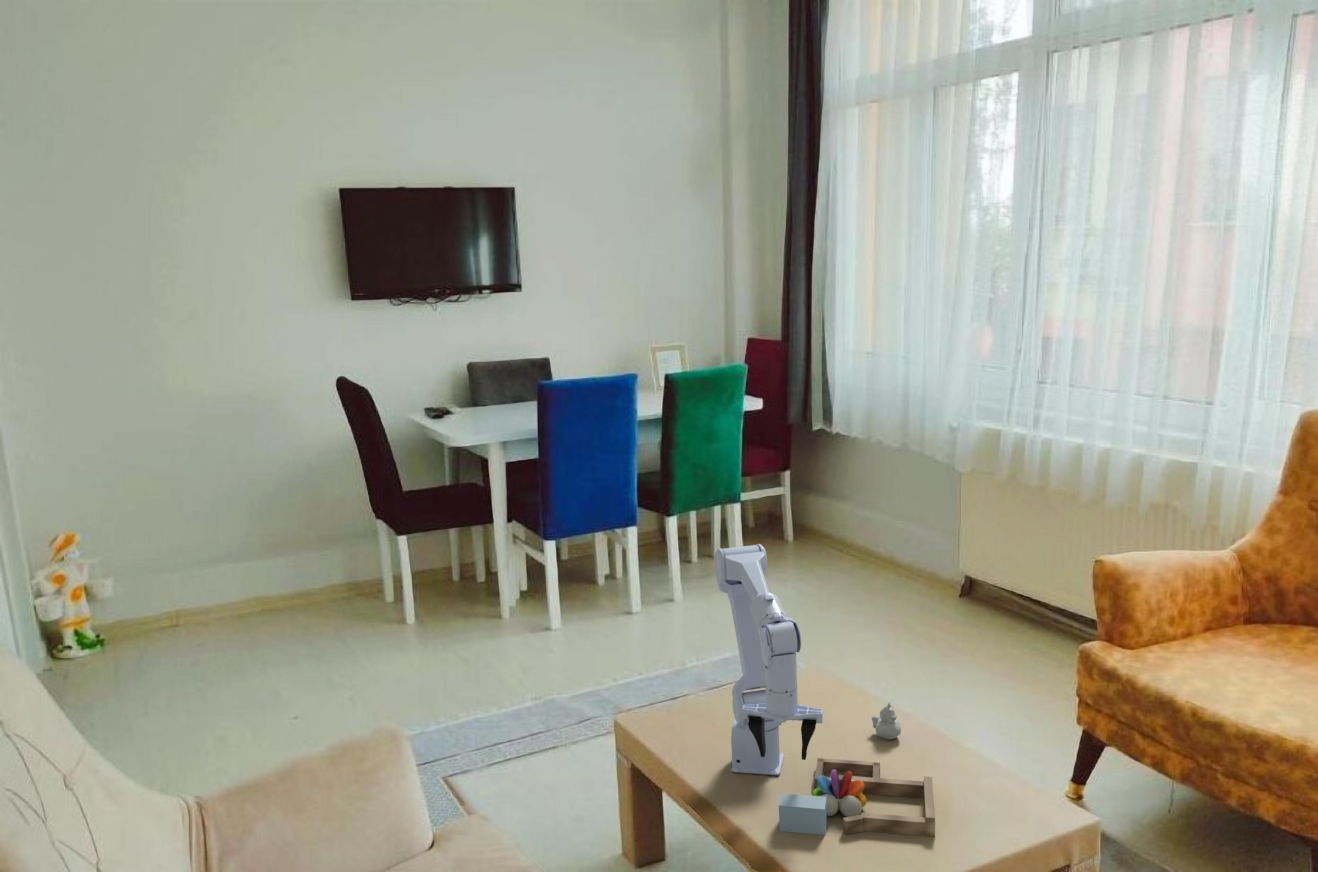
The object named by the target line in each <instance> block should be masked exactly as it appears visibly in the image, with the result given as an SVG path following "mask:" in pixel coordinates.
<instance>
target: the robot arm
mask: <svg viewBox="0 0 1318 872" xmlns="http://www.w3.org/2000/svg"><path fill="white" fill-rule="evenodd" d="M713 557H714V559H713V560H714V561H713V562H714V563H713V564H714V570H715V576H716V583H717V586H718V589H719V591H720V592H722V593H725V594H727V597H728V600H729V603H730V607H731V612H732V613H731V614H732V620H733V624H734V625H733V626H734V631H735V637H736V642H737V648H738V654H739V659H740V660H739V661H740V665H741V669H742V676H741V677H739V679H738V680H737V681H736V682H735V683H734V684H733V687H732V689H731V694H732V695H731V696H732V711H733V716H734V720H733V722H732V725H731V730H730V731H731V736H730V737H731V738H730V743H731V744H730V745H731V746H730V747H731V767H732V768H731V771H732V772H733V773H739V774H740V773H742V774H753V775H755V774H756V775H766V776H769V775H770V776H780V775H781V771H782V767H783V761H784V756H785V754H784V753H783V752H780V748H781V747H780V727H779V726H782V724H784V723H786V722H787V721H799V722H800V721H801V722H802V723H801V727H800V731H801V732H800V733H801V760H802V761H803V760H804V761H806V759H807V754H808V752H807V751H808V748H809V744H810V741H811V739H812V737H813V735H814V733H815V730H816V727H817V724H823V721H824V709H823V708H819V707H818V708H817V707H811V706H806V705H803V704H799V702H798V701H799V699H798V698H799V697H798V696H799V695H798V670H797V653H800V651H801V649H802V635H801V632H800V627H799V625H798V623H797V622H796V620H794V619H792V617H790V616H787V613H786V612H785V609H784V607H783V605H782V603H781V601H780V599H779V597H778V596H777V595H776V594H774V593H770V590H769V587H768V583H767V580H766V573H767V570H768V555H767V551H766V549H765V547H764V546H763V545H762V544H760V543H757V544H753V545H752V544H751V545H745V546H735V547H726V548H721V547H719V548H717V549H716V551H715V552H714V556H713ZM758 689H760V690H758ZM745 691H746V692H745Z"/></svg>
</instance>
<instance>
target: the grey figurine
mask: <svg viewBox="0 0 1318 872" xmlns="http://www.w3.org/2000/svg"><path fill="white" fill-rule="evenodd" d="M897 718H898V714H897V712H896V710H895V709H894V707H892V705H891V703H890V702H888V703H887V705H886V706H884V707H882V708H881V710H880V711H879V715H877V714H874V715H872V716H871V721H872V728H873V729H875V733H876V735H877V736H878V737H880V738H882V739H885V740H894V739H897V737H899V735H900V734H901V733H902V729H901V728H902V727H901V725H900V722H899V720H898V719H897Z"/></svg>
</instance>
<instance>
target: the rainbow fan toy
mask: <svg viewBox="0 0 1318 872" xmlns="http://www.w3.org/2000/svg"><path fill="white" fill-rule="evenodd" d="M838 775H839V772H837V770H835V769H833V770H831V772H830V777H831V779H830V778H829V777H827V776H825V775H824V774H823V775H821V776H819V777H818V778H817V783H818V786H817V788H815V789H814V790H813V791H812V794H811V796H821V797H826V800H827V817H832V816H834V815H836V814H837V812H838V811H839V810H840V812H841V813H842V815H843V816H845V817H851V816H857V815H861V812H862V809H863V808H864V807H865V806H866V804H867V797H866V795H864V793H862V791H863V790H864V788H865V784H864V783H863V782H862V781H860V780H851V779H852V776H853V773H852V772H851V771H847V772H846V773H844V774H843V775H844V776H843V778H842V780H841V782H839V777H838ZM839 799H840V800H839Z"/></svg>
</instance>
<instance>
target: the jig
mask: <svg viewBox="0 0 1318 872" xmlns="http://www.w3.org/2000/svg"><path fill="white" fill-rule="evenodd" d="M815 767H816V769H815V774H814V788H815V789H816V788H817V786H818V783H817V778H818V777H819V776H821V775H823V776H824V772H829V773H831V770H833V769H835V770H837V773H844V774H845V773H846V772H847V771H851V772H852V774H858V775H859V774H860V775H872V777H867V776H857V775H856V776H855V775H854V776H853V775H852V779H851V780H860V781H862V782H863V783H864V784H865V788H864V790H863V791H862V794H863V795H864V794H866V795H868V794H869V795H878V796H879V795H880V796H889V797H890V796H893V797H906V798H919V799H923V803H924V804H923V805H924V817H921V816H910V815H896V814H884V813H872V812H862V811H861V812H860V814H859V815H857V816H851V817H846V816H845V817H843V818H842V825H843V826H842V828H843V829H842V831H843V832H844V834H845V835H852V834H857V833H864V832H865V831H866V832H877V833H888V834H899V835H901V834H902V835H912V836H923V837H925V836H926V837H933V838H934V837H936V813H935V798H934V796H935V795H934V785H933V777H932V776H923V780H912V779H911V780H909V779H898V778H897V779H895V778H884V777H883V778H882V777H881V776H880V775H881V762H880V761H867V760H866V761H864V760H850V759H835V758H821V757H817V759H816V766H815ZM844 774H843V775H842V774H841V775H840V774H838V777H839V782H841V780H842V778H843V776H844ZM829 779H831V776H830V778H829Z"/></svg>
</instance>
